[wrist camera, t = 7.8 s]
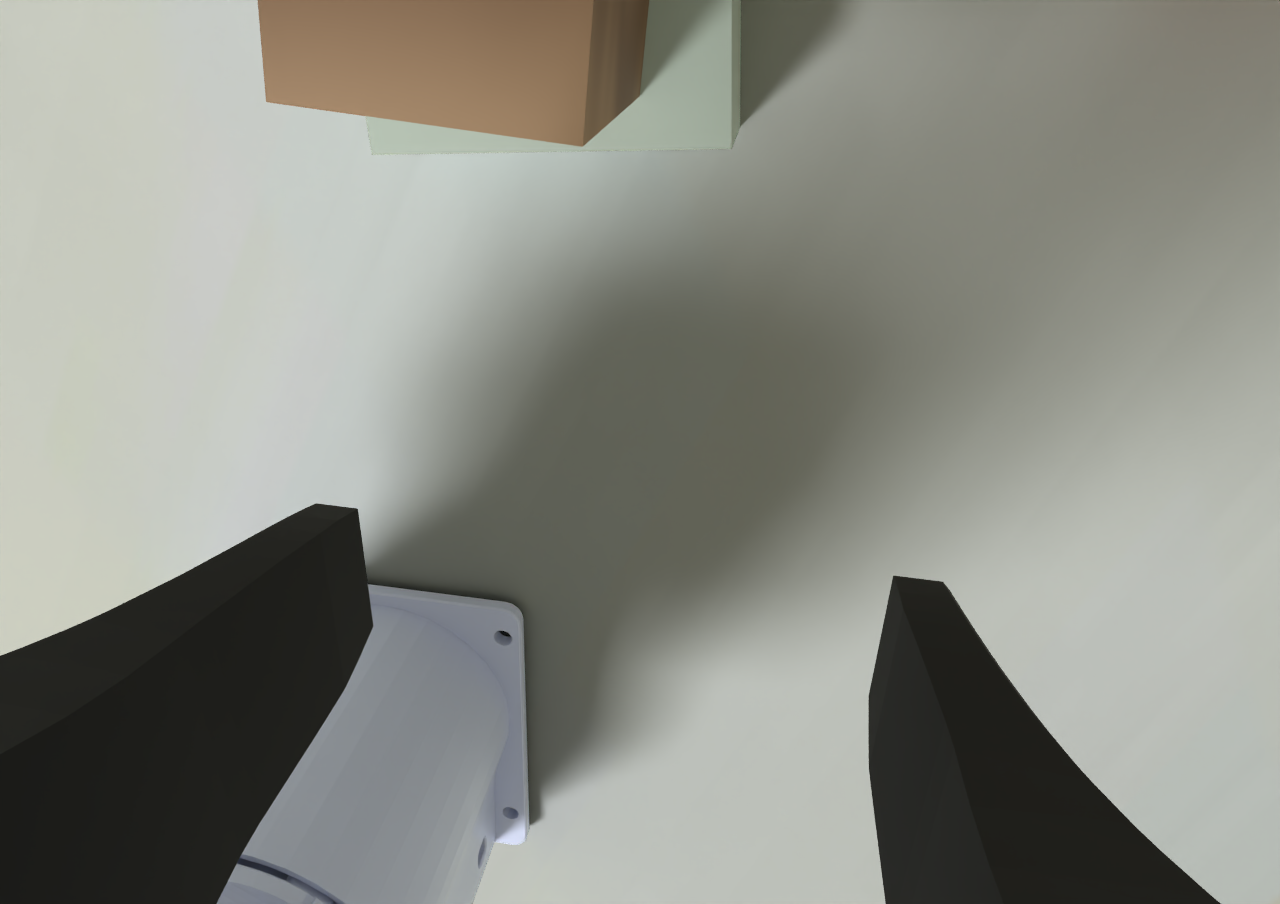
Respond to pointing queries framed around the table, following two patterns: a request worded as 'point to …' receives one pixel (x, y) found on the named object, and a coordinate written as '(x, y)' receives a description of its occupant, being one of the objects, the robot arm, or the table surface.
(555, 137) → the walnut block
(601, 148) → the base block
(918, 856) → the robot arm
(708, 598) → the table surface
